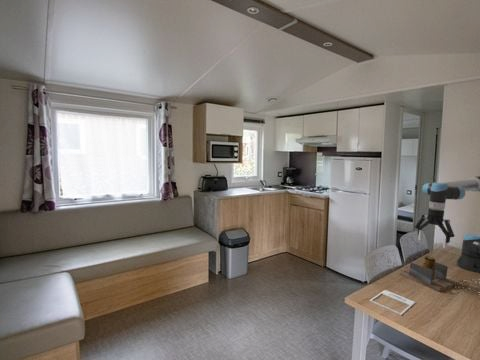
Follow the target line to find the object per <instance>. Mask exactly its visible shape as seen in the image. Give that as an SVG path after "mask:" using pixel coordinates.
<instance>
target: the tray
mask: <svg viewBox="0 0 480 360" xmlns="http://www.w3.org/2000/svg"><path fill="white" fill-rule="evenodd" d="M448 268H449V266H448V265H446V264H443V263H439V262H437V261H435V271H434V277H435V278H437V279H439V280H437V281H432V278H433V270H431V269H428V268H426V267H423V265H421V264H418V263H415V262H413V261H411V262H410V264H409V269H406V270H402V271H400V272H399V275H400V276H401V275H402V277H404V278H406V279H408V280H410V281H412V282H413V281H414V282H415V283H418V284H420V285H422V286H425V287H427V288H428V289H431V290H433V291H435V292H438V293H440V292H443V291H446V290H449V289H451V288H454V287H456V286H457V282H456V281H453V280H450V279H448V278H447V277H448V276H447V274H448Z"/></svg>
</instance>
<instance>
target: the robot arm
mask: <svg viewBox="0 0 480 360" xmlns="http://www.w3.org/2000/svg"><path fill="white" fill-rule="evenodd" d="M421 191H422V193H423V194H425V195H426V196H427V195H428V196H430V197H429V204H428V211H427V214H421V218H420V219H419V220H418V221H417V223H416V225H415V226H414V228H415V229H416V230H417V235H418V239H417V241H419V242H420V241H422V240H423V235H424V228H426V226H428V225H430V224H431V225H435V226H438V227H439V229H440V230H441V231H442V233H443V234H444V235H445V236H443V238H444V239H443V245H442V248H443V249H447V248H448V243H450V242H451V238H454V237H455V234H454V230H453V229H452V226H451V221H450V219H444V215H445V209H446V202H447V200H462V199H464V197H465V196H466V192H480V175H479V176H472V177H469V178H467V179H462V180H461V179H460V180H454V181H447V182H433V183H430V182H427V183H425V184H423V186H422V190H421ZM426 219H427V220H426ZM425 220H426V221H425ZM423 222H424V223H423ZM456 265H457V266H458V267H459V268H461V269H464V270H467V271H470V272H474V273H480V234H473V233H472V234H469V233H468V234H464V236H463V240H462V245H461V253H460V256H459V257H458V259H457V261H456Z"/></svg>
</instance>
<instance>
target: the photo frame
mask: <svg viewBox="0 0 480 360" xmlns="http://www.w3.org/2000/svg"><path fill="white" fill-rule="evenodd" d="M381 295H383V296H386V297H388V298H391V299H393V300H394V301H397V302H399V303H402V304H404V305H406V306H407V307H406V308H405V309H404V310H402V311H401V312H398V311H396V310H394V309H392V308H389V307H388V306H385V305H383V304H380V303H378V302H376V301H374V300H376V299H377V298H378V297H380V296H381ZM369 302H371V303H373V304H375V305H377V306H379V307H382V308H384V309H386V310H388V311H390V312H392V313H395V314H397V315H399V316H402V315H404V314H405V313H406V312H407V311H408V310H409V309H410V308H411V307H413V305H415V303H416V301H414V300H411V299H408V298H406V297H404V296H402V295H399V294H397V293H394V292H392V291H389V290H387V289H384V290H383V291H381V292H378V294H376V295H375V296H374V297H372V298H371V299H369Z"/></svg>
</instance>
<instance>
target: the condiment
mask: <svg viewBox="0 0 480 360" xmlns="http://www.w3.org/2000/svg"><path fill="white" fill-rule="evenodd" d="M423 259H424V260H423V262H422V266H423V267H426V268H428V269H431V270H433V278H432V281H437V280H439V279H437V278H435V277H434V271H435V262H436V259H435V258H434V257H433V256H432V257H431V256H424V258H423Z"/></svg>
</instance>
